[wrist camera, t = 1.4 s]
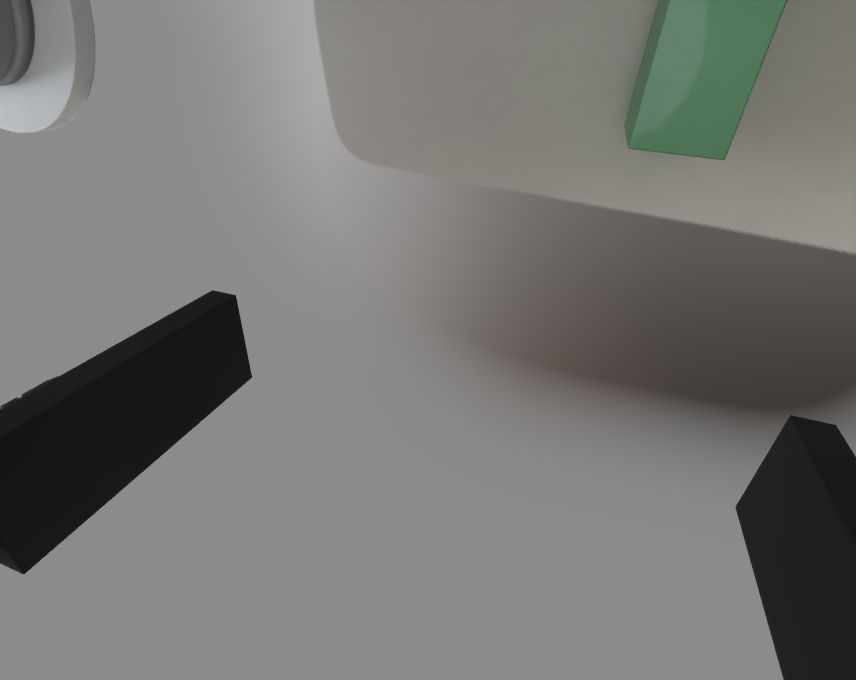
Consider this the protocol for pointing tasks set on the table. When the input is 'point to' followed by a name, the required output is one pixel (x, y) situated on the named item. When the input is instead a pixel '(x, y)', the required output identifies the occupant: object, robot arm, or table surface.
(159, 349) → the robot arm
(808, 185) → the table surface
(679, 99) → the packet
